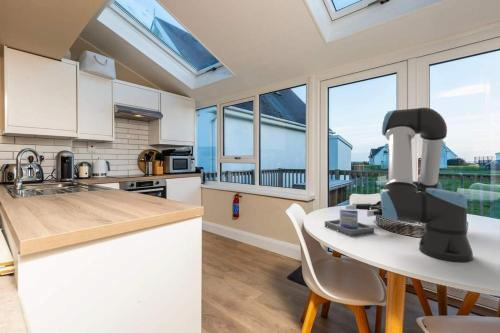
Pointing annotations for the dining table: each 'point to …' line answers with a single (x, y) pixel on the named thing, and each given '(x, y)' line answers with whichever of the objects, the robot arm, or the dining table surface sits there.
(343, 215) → the medicine box
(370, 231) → the parts tray
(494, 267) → the dining table surface
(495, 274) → the dining table surface
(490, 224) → the dining table surface
